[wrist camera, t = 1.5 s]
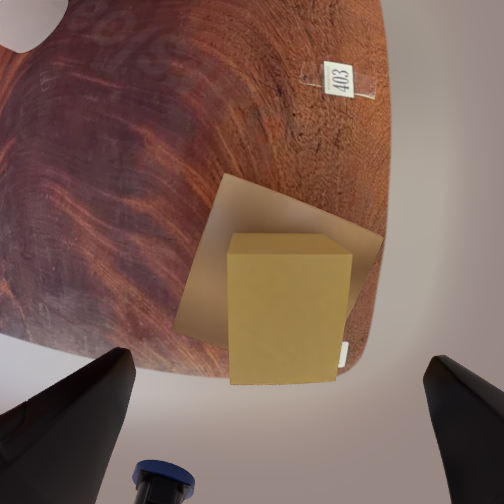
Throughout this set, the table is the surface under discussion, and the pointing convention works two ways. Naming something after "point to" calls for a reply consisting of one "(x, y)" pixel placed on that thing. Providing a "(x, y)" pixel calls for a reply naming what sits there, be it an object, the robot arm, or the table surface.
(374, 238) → the stand
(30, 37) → the cup
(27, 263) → the table surface
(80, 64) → the table surface
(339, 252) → the cheese
